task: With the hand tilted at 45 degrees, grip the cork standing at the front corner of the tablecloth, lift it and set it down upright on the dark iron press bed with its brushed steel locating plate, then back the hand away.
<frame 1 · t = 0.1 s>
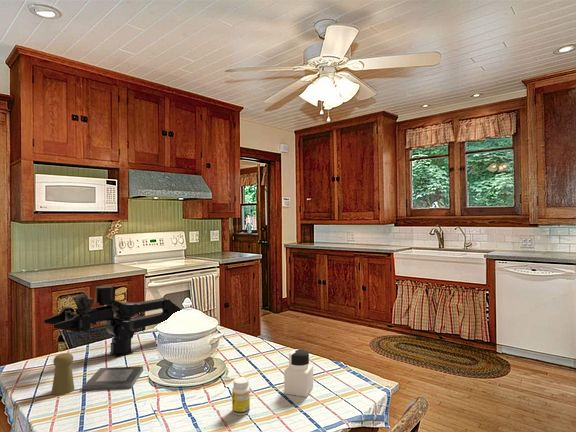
hand: (48, 323, 128), 17 cm above the table, tool horizontal, fingers open, 9 cm apart
medicine bottle: (298, 391, 115), on the table
press bed: (115, 379, 122), on the table
cork: (63, 391, 114), on the table
supplement bottle: (241, 412, 102), on the table
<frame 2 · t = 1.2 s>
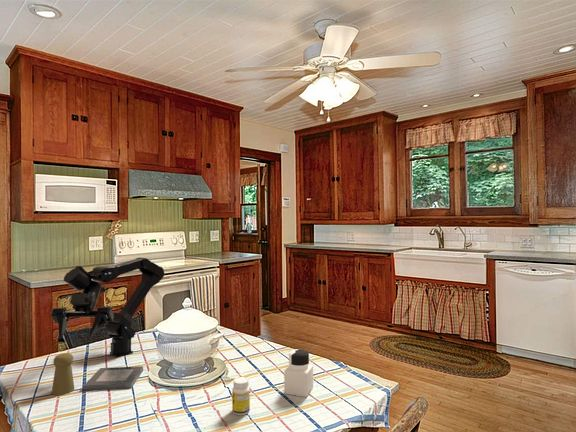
hand: (75, 337, 122), 14 cm above the table, tool tilted 45°, fingers open, 9 cm apart
nothing on the table moved.
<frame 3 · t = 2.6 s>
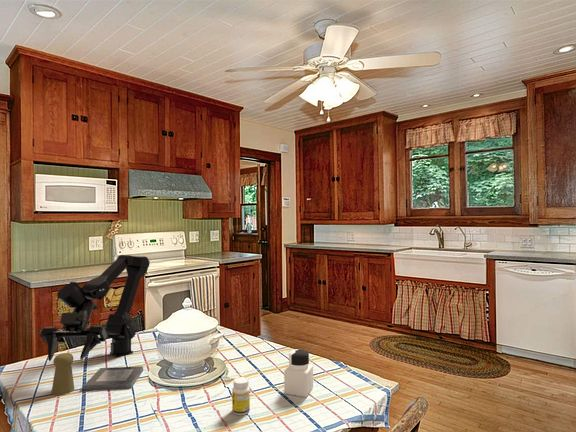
hand: (65, 359, 116), 9 cm above the table, tool tilted 45°, fingers open, 9 cm apart
nothing on the table moved.
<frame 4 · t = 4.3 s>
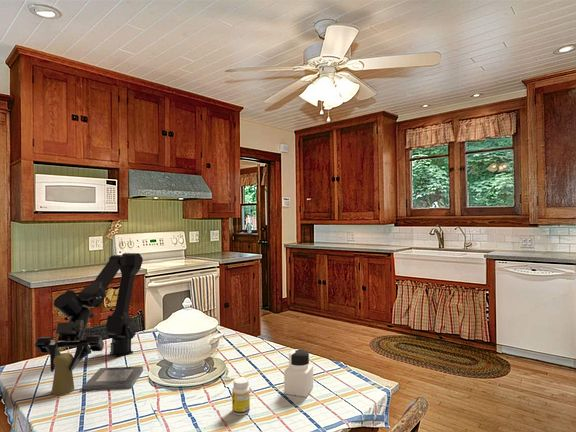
hand: (61, 370, 113), 7 cm above the table, tool tilted 45°, fingers closed on cork, 5 cm apart
cork: (63, 391, 114), on the table, touching gripper
everything else where it was.
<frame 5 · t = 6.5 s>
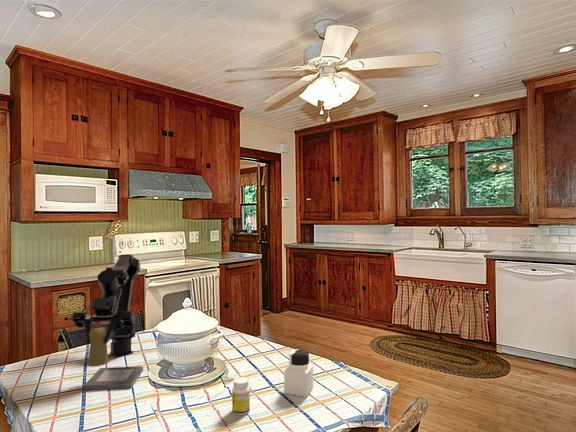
hand: (96, 343, 119), 13 cm above the table, tool tilted 45°, fingers closed on cork, 5 cm apart
cork: (97, 363, 120), point 6 cm above the table, touching gripper
everything else where it was.
when the fingers open (9 cm above the table, at t = 8.6 s): cork drops 1 cm, resting on press bed.
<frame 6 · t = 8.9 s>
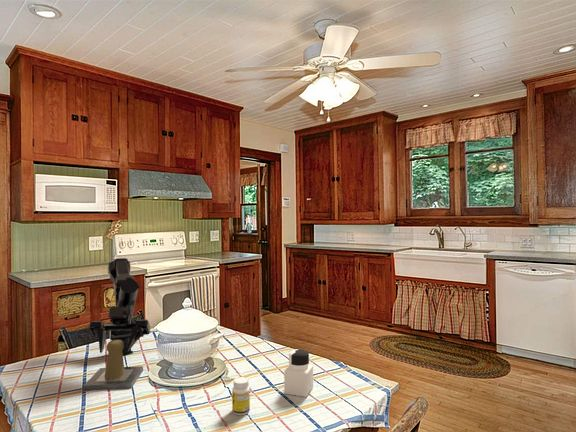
hand: (114, 351, 121), 10 cm above the table, tool tilted 45°, fingers open, 8 cm apart
cork: (114, 375, 122), point 1 cm above the table, touching press bed
everything else where it was.
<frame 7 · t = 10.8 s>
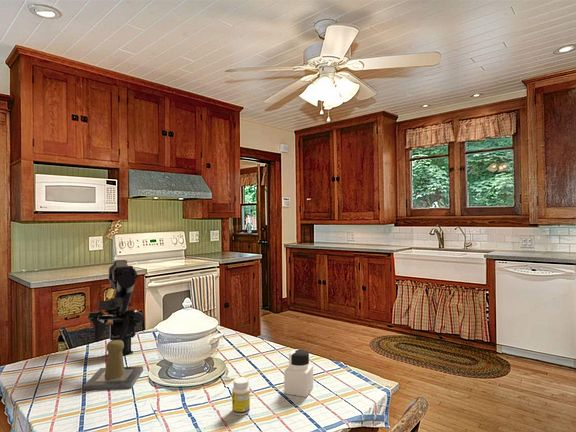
hand: (108, 341, 128), 11 cm above the table, tool tilted 35°, fingers open, 9 cm apart
nothing on the table moved.
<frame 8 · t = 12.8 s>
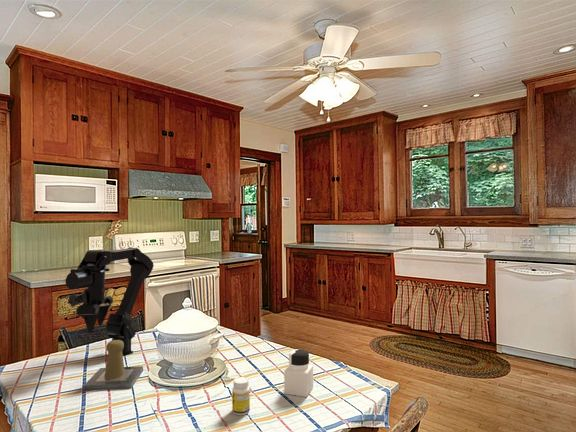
hand: (95, 328, 135), 13 cm above the table, tool pointing down, fingers open, 9 cm apart
nothing on the table moved.
at the end: cork inside the target area on the press bed (0.1 cm from its centre), point 1.4 cm above the press bed's base; cork tilted 0°; the gripper is holding nothing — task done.
